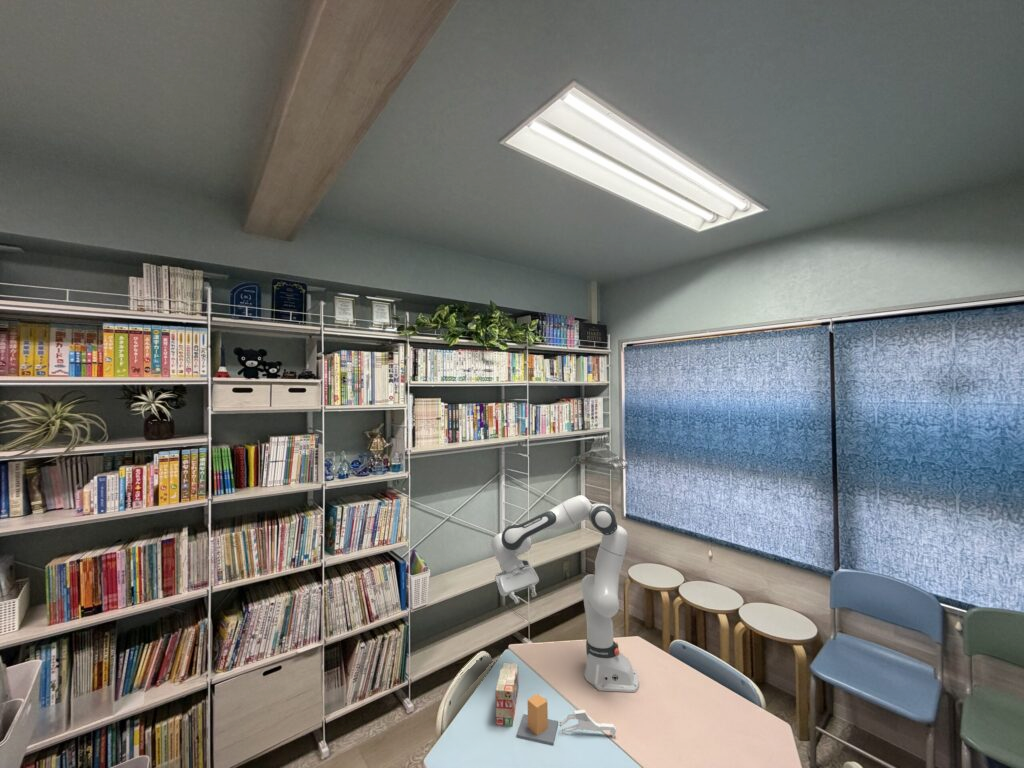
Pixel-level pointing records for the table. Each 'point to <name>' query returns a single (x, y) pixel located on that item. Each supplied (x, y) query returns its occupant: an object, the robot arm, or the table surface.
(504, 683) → the stack of blocks
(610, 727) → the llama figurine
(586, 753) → the table surface
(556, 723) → the slate mat
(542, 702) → the orange block
